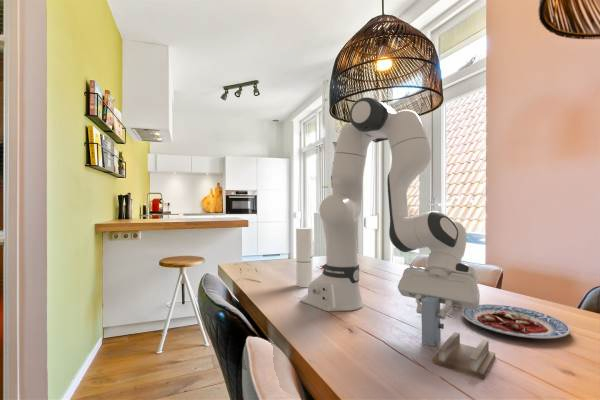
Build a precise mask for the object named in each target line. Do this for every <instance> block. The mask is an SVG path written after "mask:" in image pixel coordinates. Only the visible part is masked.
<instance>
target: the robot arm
mask: <svg viewBox="0 0 600 400" xmlns="http://www.w3.org/2000/svg"><path fill="white" fill-rule="evenodd" d="M348 118H349V121H350V123H348V124H345V125H344V126H342V128H341V130H340V132H339V136H338V139H337V141H336V147H335V150H334V156H333V161H332V168H331V169H332V170H331V179H332V180H331V182H332V183H331V184H332V194H330V195H328V196H327V197H325V198H324V199H323V200H322V201H321V203H320V205H319V208H318V210H319V216H320V218H321V220H322V221H321V222H322V226H323V231H324V237H325V238H324V239H325V244H326V247H325V248H326V249H325V250H326V252H325V253H326V259H325V261H326V263H324V264H323V265H320V266H319V267H320V268H319V269H320V270H322V273H321V275H319V276H318V277H316V278H315V279H313V281H312V282H311V283H310V285H309V287H308V288H307V294H304V295H303V296H302V297H301V302H302V303H306V304H308V305H310V306H313V307H315V308H318V309H320V310H323V311H325V312H335V311H340V312H341V311H342V312H344V311H348V312H349V311H353V310H354V311H355V310H358V309H361V308H362V307H363V306H364V303H363V300H362V295H361V289H360V264H359V261H358V260H359V252H358V251H359V249H358V248H359V246H358V244H359V242H358V240H357V235H356V227H355V222H356V221H357V220H358V219H359V217H360V215H361V211H362V199H363V198H362V197H363V179H364V172H365V167H366V161H367V155H368V154H367V153H368V148H369V145H370V144H371V142H374V143H379V142H382V141H387V142H388V143H389V149H390V154H391V166H390V170H389V171H388V175H387V180H386V181H387V182H386V183H387V184H386V185H387V195H388V196H387V197H388V210H389V211H388V213H389V228H388V229H389V230H388V233H389V240H390V242H391V244H392V245H393V246H394V247H395V249H397V250H399V251H400V252H402V253H408V252H411V251H412V252H413V251H415V250H419V249H424V248H428V249H429V250H430V252H429V254H428V256H427V259H426V263H425V267H416V266H409V267H407V268H404V270H403V271H402V275H401V278H400V279H399V282H398V284H397V289H398V292H399V293H400V295H401V296H403V297H405V298H406V297H407V298H413V299H415V302H416V304H417V306H416V309H415V311H416V313H417V314H420V315H422V309H421V300H422V299H423V298H425V297H427V296H431V297H436V298H440V304H443V305H445V306H444V307H443V308H440V309H439V310H438V314H437V316H438V318H440V320H441V319H442V320H445V319H446V316H447V314H448V313H450V312H451V311H452V310H453V307H458V308H463V309H464V308H468V309H473V310H475V309H476V308H478V307H479V305H480V300H481V299H480V289H479V285H478V284H479V282H478V281H479V280H478V276H477V272H476V270H475V269H474V267H472V266H470V265H468V264H465V263H462V259H463V257H464V256H465V253H466V252H465V251H466V245H467V232H466V227H464V226H463V224H462V223H461V222H458V221H457V220H453V219H451V218H449V217H448V216H447V215H446V214H444V213H443V212H441V211H438V210H431V211H427V212H423V213H421V214H417V215H414V216H411V217H410V216H409V209H408V208H409V207H408V197H407V193H408V189H409V187H410V185H411V184H412V182H413V181H414V180H416V179H417V177H418V176H419V175H420V174H421V173H423V172H424V170H426V168H427V167H428V165H429V163H430V162H431V161H430V160H431V155H432V152H431V147H430V143H429V140H428V136H427V133H426V129H425V127H424V125H423V122H422V120H421V118H420V117H419V115H418V113H416V111H413V110H410V109H402V110H399V111H397V110H395V109H394V108H392V107H391V106H390V105H388V104H387V103H385V102H384V103H383V102H382V101H379V100H377V99H376V98H372V97H362V98H359V99H357V100H356V101H355V102H354V103H353V104H352V106H351V107H350V111H349V117H348Z"/></svg>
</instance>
